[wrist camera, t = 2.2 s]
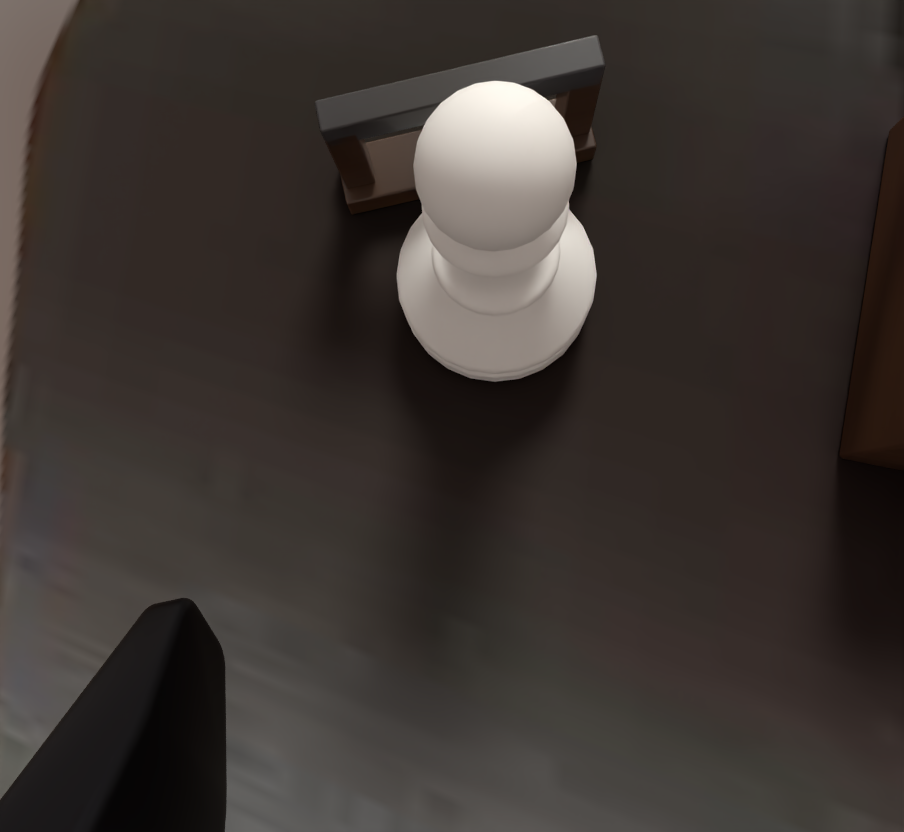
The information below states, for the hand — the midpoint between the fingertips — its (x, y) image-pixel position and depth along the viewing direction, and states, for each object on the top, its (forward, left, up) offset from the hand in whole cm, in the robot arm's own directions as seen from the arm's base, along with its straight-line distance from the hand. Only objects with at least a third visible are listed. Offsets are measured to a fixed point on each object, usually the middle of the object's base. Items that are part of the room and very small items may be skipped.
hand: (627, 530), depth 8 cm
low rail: (+5, +8, -13) cm, 16 cm away
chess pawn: (+3, +5, -13) cm, 14 cm away
